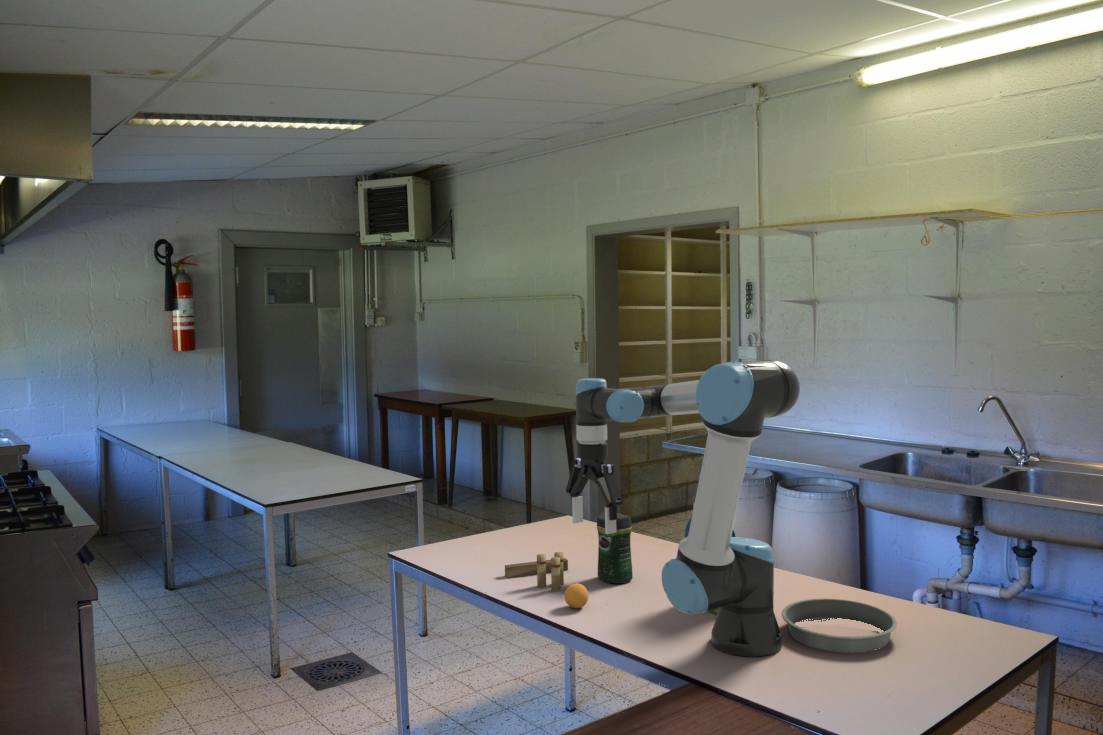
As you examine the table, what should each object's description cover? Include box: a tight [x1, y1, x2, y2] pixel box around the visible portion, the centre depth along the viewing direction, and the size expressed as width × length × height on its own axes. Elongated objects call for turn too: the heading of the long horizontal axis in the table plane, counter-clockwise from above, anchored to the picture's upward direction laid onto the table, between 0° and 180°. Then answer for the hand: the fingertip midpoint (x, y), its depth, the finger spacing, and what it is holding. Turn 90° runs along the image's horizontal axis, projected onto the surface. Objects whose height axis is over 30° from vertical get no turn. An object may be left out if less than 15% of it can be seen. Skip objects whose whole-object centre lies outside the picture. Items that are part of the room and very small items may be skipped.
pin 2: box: [553, 551, 565, 586], centre depth 233 cm, size 2×2×8 cm
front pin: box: [550, 556, 562, 592], centre depth 228 cm, size 2×2×8 cm
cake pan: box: [781, 597, 898, 653], centre depth 194 cm, size 25×25×4 cm
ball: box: [563, 582, 589, 609], centre depth 214 cm, size 6×6×6 cm
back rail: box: [504, 557, 569, 579], centre depth 244 cm, size 2×18×3 cm, turn 110°
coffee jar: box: [596, 511, 633, 584], centre depth 236 cm, size 10×8×19 cm
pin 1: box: [536, 553, 547, 589], centre depth 232 cm, size 2×2×8 cm
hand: (594, 527), depth 211 cm, fingers open, 13 cm apart
